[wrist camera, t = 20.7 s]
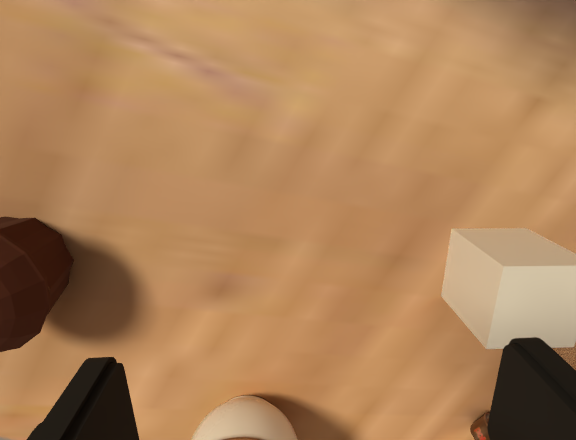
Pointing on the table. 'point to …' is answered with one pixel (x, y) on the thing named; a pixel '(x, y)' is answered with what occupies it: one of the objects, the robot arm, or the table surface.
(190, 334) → the table surface
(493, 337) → the beige cube
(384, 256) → the table surface
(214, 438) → the lidded bowl
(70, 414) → the robot arm
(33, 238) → the muffin
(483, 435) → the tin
